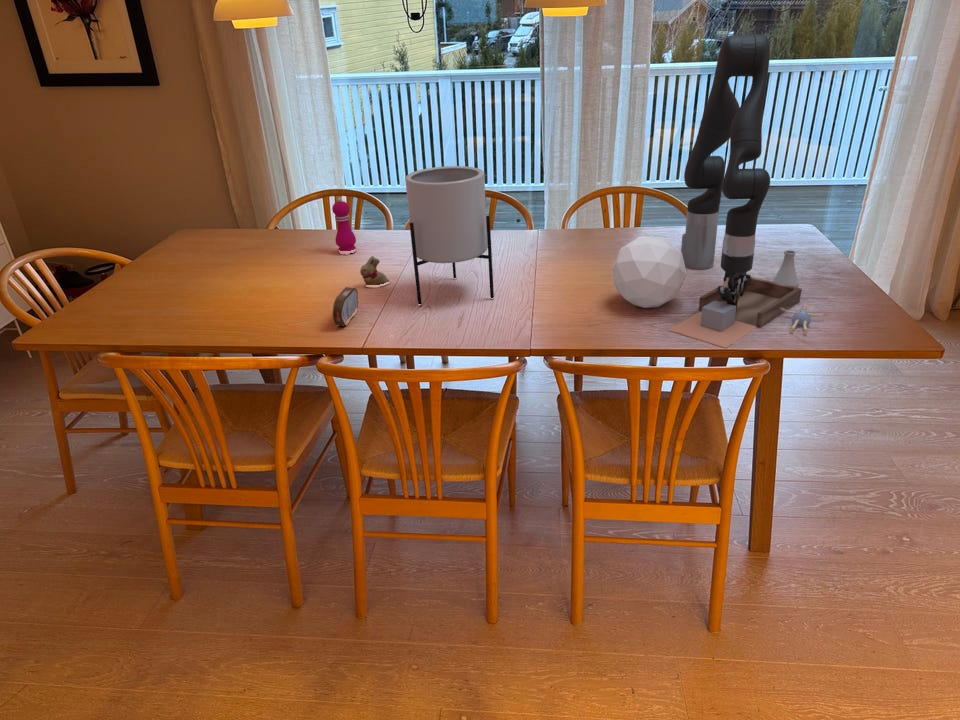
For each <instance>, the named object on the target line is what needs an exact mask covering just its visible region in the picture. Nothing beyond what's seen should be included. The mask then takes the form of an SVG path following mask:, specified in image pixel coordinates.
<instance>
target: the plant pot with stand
mask: <svg viewBox="0 0 960 720" xmlns="http://www.w3.org/2000/svg"><path fill="white" fill-rule="evenodd" d="M404 182H405V188H406V198H407V205H408V207H407V208H408V215H409V232H410V241H411V242H410V243H411V249H412V259H413V260H412V261H413V270H414V277H415V287H416V297H417V305H418V304H422V293H421V284H420V275H419V266H421V265H425V264H427V263H434V264H452V265H451V266H452V274H453V275H452V276H453V279H454V278H456V279H457V270H456V269H457V268H456V263H462V262H466V261H471V260H473V259H485V260H486V259H487V260H488V274H489V275H488V277H489V279H488V281H489V296H490V297H491V298H493V297H494V298H495V293H494V273H493V272H494V269H493V251H492V236H491V235H492V233H491V232H492V231H491V217H490V216H491V215H487V208H486V207H487V206H486V205H487V203H486V187H485V186H486V185H485V183H486V182H485V172H484V170H483V169H481V168H478V167H474V166H467V165H466V166H465V165H446V166H445V165H444V166H434V167H429V168H423V169H419V170H414V171H413V172H410V173H408V174H407V175H406V176H405V181H404ZM486 251H487V254H485V252H486ZM418 259H419V261H418ZM422 305H423V304H422Z"/></svg>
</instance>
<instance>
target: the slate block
mask: <svg viewBox="0 0 960 720" xmlns="http://www.w3.org/2000/svg"><path fill="white" fill-rule="evenodd" d="M735 313H736V306H734V305H730V304H727V303H723V302H719V301H713V302H711V303H709V304H707V305H706V306H704V307H702V314H701V324H700V325H701V326H704V327H708V328H711V329H714V330H718V331H721V332H722V331H724V330H725V329H727V328H729V327H730V326H732V325H734V321H735Z"/></svg>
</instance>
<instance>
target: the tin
mask: <svg viewBox="0 0 960 720" xmlns="http://www.w3.org/2000/svg"><path fill="white" fill-rule="evenodd" d="M358 296H359V295H358V290H357V288H355V287H349V286H345V287H344V288H343V289H342V291H340V293H338V295H337V296H336V298H335V300H334V303H333V307H332V319H333V322H334V326H336V325H345V323H346V321H347V320H348V319H349V318H350V317H351V316H352V314H353V313H354V312H355V310H356V309H357V308H358V309H359V297H358Z"/></svg>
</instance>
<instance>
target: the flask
mask: <svg viewBox="0 0 960 720" xmlns="http://www.w3.org/2000/svg"><path fill="white" fill-rule="evenodd" d="M796 253H797V251H796V250H791V249H786V250H785V249H784V251H783V254H784V257H783V261H782V263H781V266H780V268H779V270H778V272H777V273H776V275H775V277H774V279H773V280H772V282H775V283H780V284H784V285H788V286H793V287H797V288H799V285H800V284H799V280H798V277H797V276H798V275H797V271H796V267H795V256H796Z"/></svg>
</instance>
